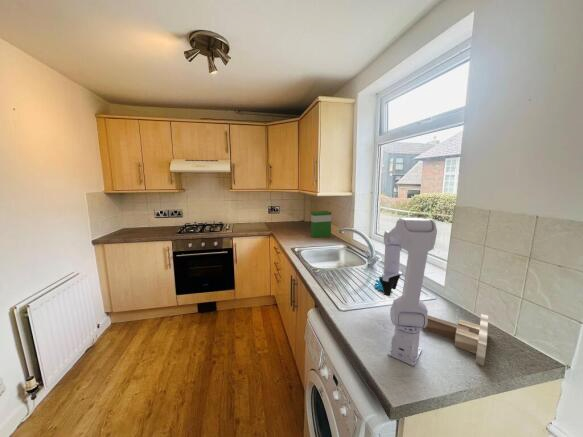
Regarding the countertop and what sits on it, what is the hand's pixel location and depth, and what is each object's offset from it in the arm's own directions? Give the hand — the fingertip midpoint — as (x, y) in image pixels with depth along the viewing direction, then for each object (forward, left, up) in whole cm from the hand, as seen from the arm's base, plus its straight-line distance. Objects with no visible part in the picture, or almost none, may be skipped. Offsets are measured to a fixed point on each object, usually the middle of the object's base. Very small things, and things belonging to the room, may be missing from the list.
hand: (389, 291), depth 102 cm
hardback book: (+97, +96, -10) cm, 137 cm away
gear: (+21, +9, -10) cm, 25 cm away
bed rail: (-2, -20, -10) cm, 22 cm away
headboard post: (-2, -28, -9) cm, 30 cm away
